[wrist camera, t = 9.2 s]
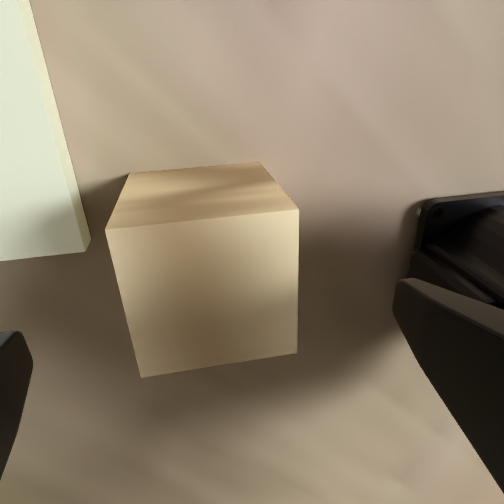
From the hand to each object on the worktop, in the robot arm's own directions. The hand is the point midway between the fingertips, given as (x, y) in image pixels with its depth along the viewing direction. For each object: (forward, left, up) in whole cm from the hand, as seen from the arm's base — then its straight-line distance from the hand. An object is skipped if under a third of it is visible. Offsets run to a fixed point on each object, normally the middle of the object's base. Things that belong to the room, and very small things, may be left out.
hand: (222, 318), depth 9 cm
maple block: (0, 0, -6) cm, 6 cm away
